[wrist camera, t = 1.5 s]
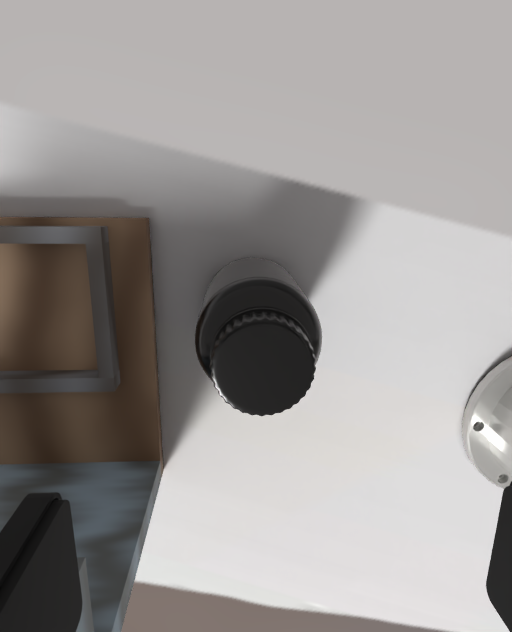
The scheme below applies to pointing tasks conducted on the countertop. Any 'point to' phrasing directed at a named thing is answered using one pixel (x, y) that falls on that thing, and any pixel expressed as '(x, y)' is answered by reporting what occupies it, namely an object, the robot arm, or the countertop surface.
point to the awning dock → (82, 391)
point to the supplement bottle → (258, 337)
